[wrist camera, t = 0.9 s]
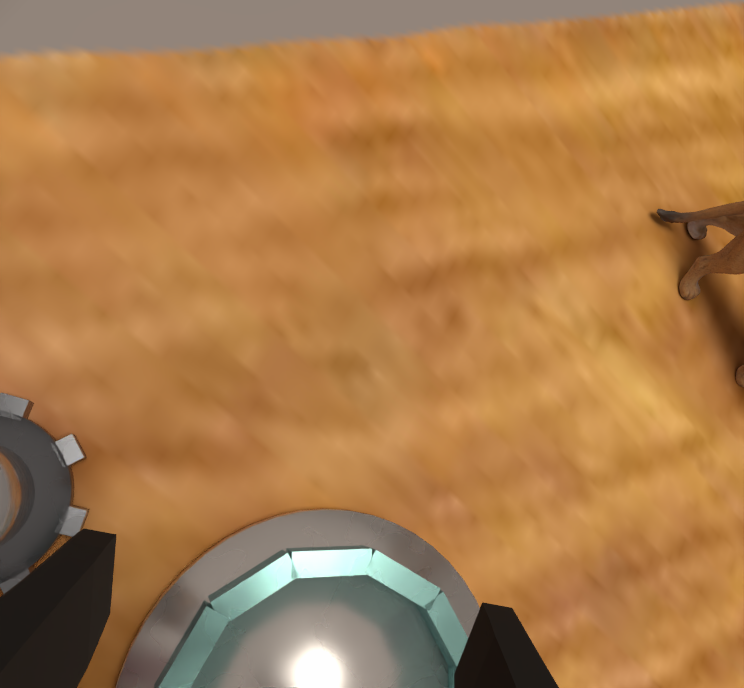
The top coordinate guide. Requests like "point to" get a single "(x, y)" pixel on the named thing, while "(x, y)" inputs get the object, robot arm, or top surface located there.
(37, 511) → the gear
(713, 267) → the lion figurine
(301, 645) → the plate
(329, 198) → the top surface
